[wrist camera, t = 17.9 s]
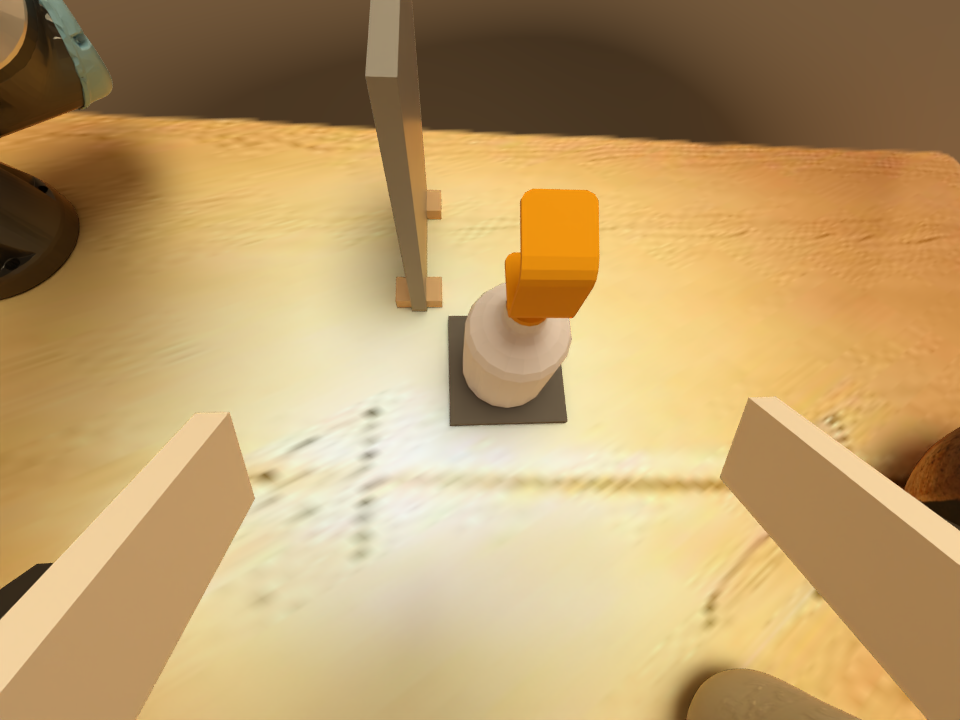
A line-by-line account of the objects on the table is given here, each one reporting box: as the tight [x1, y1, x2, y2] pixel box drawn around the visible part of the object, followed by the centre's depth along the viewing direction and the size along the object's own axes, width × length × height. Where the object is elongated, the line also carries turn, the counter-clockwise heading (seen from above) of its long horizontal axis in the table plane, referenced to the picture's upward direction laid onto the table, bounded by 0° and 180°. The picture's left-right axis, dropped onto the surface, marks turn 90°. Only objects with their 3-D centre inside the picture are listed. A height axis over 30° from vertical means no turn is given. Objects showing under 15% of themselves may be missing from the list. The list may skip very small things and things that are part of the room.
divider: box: [365, 0, 442, 311], centre depth 36 cm, size 5×16×27 cm, turn 2°
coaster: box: [449, 316, 567, 426], centre depth 45 cm, size 12×12×1 cm
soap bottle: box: [463, 189, 599, 408], centre depth 33 cm, size 9×9×25 cm
